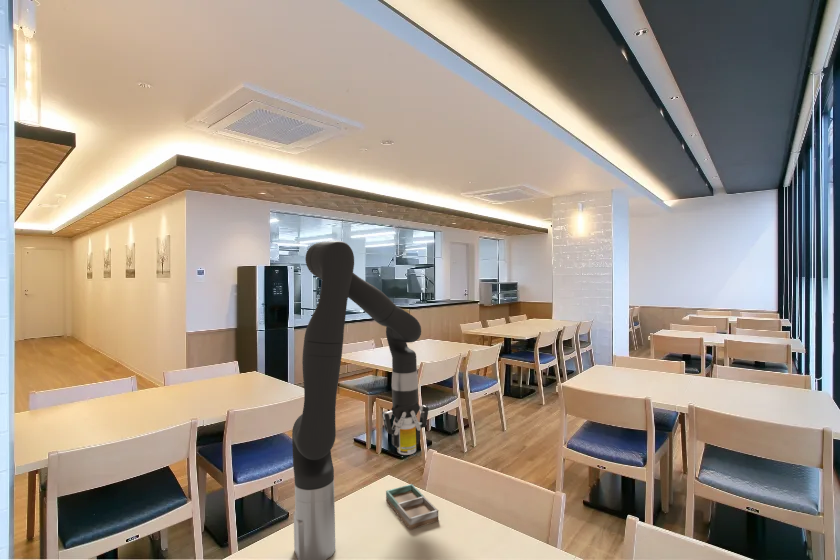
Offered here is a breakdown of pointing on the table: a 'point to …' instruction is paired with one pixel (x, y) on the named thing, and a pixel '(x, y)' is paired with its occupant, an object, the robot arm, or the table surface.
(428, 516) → the divided sorting tray
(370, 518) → the table surface
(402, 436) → the supplement bottle
